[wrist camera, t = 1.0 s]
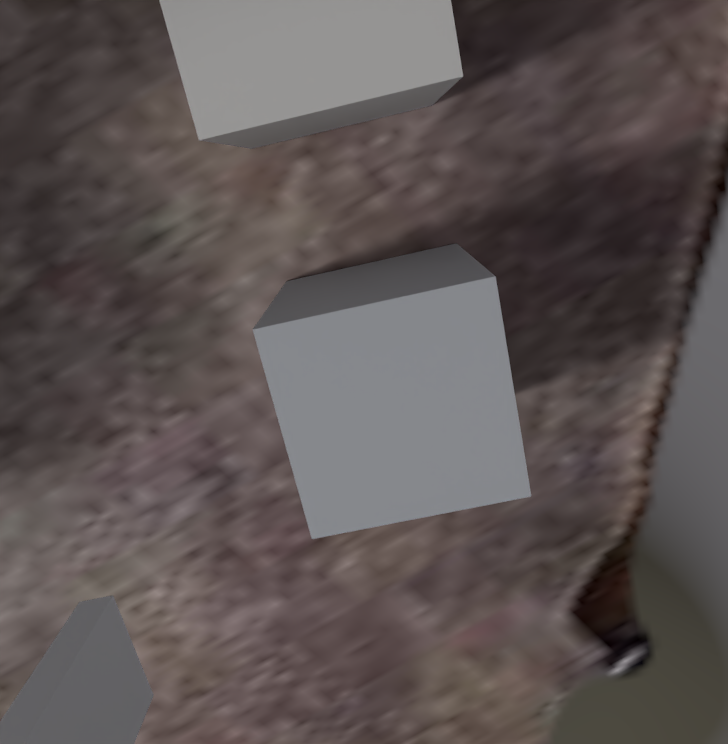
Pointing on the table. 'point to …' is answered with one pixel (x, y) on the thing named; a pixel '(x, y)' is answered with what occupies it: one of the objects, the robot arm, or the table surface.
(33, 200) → the table surface
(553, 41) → the table surface
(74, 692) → the robot arm
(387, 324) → the grey arch block
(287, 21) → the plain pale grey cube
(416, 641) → the table surface
